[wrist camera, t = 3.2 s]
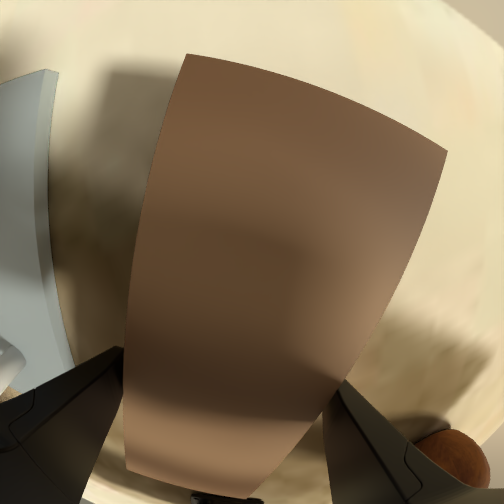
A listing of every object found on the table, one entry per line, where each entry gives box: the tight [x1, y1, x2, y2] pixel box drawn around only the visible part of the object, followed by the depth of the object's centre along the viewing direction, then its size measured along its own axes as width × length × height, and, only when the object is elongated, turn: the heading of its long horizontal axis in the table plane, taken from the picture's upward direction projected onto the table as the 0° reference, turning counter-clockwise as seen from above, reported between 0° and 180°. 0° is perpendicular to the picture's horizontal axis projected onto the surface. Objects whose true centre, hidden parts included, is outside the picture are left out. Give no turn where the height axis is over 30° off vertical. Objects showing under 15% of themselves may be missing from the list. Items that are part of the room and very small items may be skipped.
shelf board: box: [123, 54, 448, 499], centre depth 9 cm, size 16×6×3 cm, turn 163°
